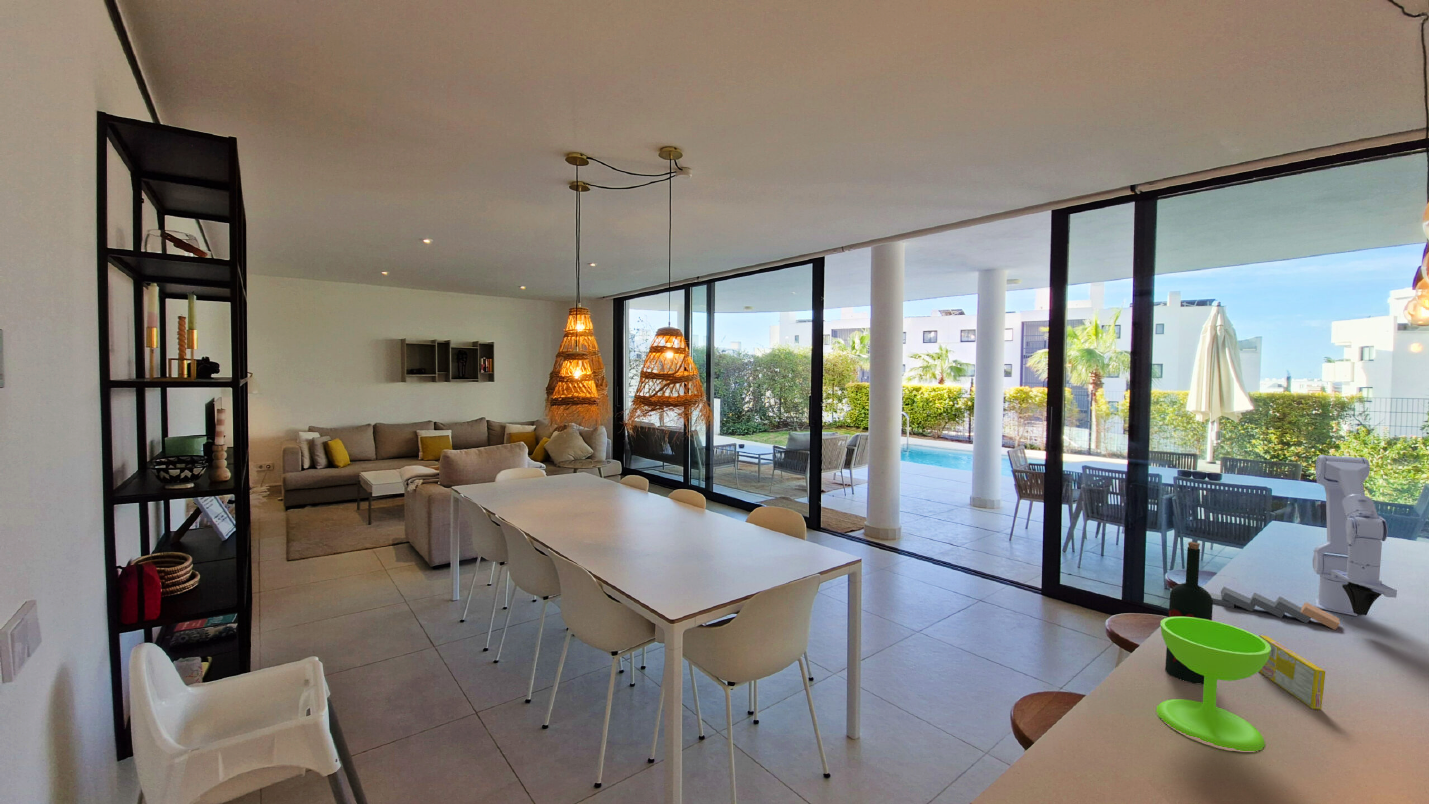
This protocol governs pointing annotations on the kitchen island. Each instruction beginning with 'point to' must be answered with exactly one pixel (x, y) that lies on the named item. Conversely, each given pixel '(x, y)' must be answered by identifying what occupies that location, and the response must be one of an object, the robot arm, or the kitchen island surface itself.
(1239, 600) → the tile
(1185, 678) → the wine bottle
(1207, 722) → the wineglass
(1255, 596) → the tile
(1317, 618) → the tile head
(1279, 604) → the tile
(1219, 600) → the tile
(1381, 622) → the kitchen island surface
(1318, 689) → the candy box
